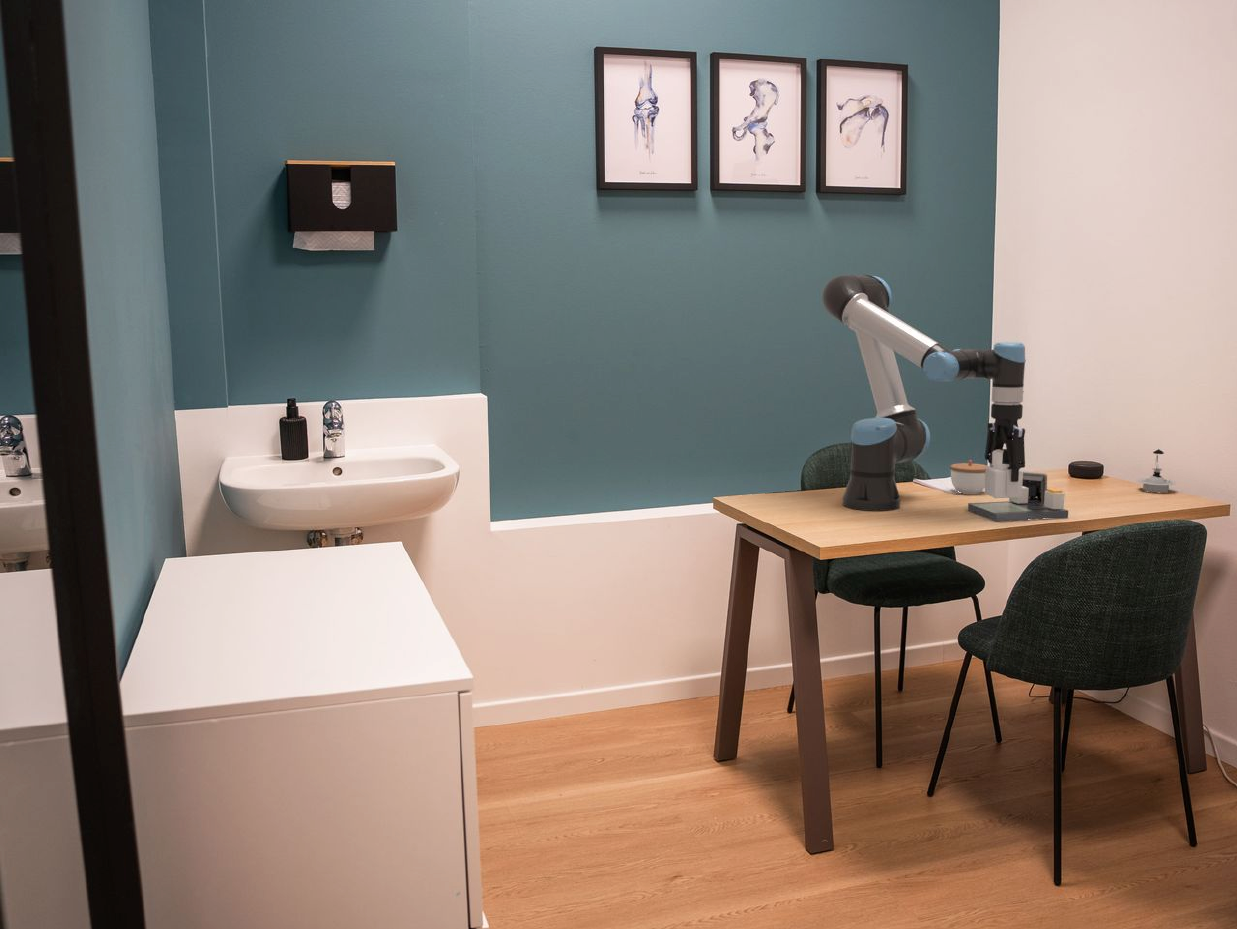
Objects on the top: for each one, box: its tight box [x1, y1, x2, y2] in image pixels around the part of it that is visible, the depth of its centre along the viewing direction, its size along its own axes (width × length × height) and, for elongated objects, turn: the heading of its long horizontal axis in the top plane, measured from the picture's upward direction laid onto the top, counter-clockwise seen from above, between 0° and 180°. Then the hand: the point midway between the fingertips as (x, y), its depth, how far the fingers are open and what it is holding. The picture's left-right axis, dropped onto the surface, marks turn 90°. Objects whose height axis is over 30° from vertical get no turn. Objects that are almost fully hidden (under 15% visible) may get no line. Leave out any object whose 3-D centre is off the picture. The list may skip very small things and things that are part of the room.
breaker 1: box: [1008, 486, 1029, 504], centre depth 274 cm, size 3×4×4 cm
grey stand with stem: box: [1136, 448, 1177, 494], centre depth 299 cm, size 12×10×10 cm
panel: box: [967, 500, 1069, 523], centre depth 270 cm, size 20×14×2 cm
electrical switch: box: [1022, 470, 1048, 502], centre depth 282 cm, size 9×5×9 cm, turn 57°
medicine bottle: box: [984, 448, 1024, 499], centre depth 268 cm, size 7×7×12 cm
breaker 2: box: [1044, 488, 1065, 509], centre depth 267 cm, size 3×4×5 cm
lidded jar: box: [950, 459, 989, 495], centre depth 299 cm, size 11×11×9 cm
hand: (1002, 490), depth 268 cm, fingers closed on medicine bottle, 8 cm apart
